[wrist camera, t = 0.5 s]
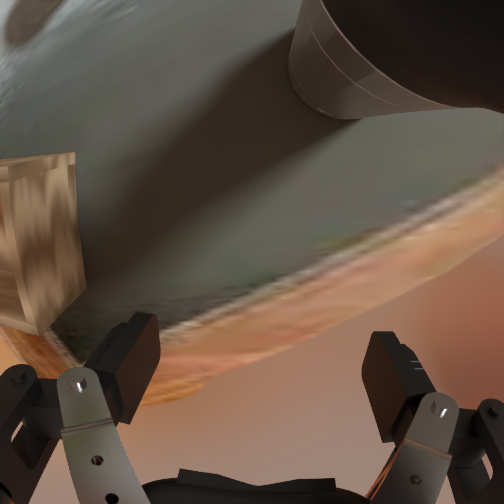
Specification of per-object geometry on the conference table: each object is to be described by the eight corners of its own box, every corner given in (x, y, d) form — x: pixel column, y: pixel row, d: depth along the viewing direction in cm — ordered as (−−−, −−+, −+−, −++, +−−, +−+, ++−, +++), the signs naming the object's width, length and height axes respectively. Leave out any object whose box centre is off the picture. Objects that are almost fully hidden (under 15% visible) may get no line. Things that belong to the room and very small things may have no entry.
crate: (-12, 161, 27) (-69, 178, 18) (75, 152, 27) (7, 166, 17) (4, 272, 33) (-43, 306, 23) (87, 287, 32) (39, 336, 23)
